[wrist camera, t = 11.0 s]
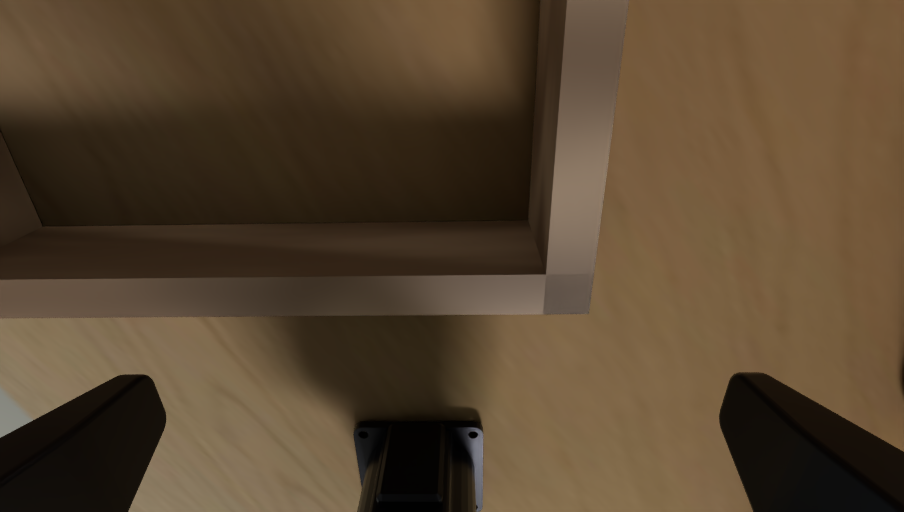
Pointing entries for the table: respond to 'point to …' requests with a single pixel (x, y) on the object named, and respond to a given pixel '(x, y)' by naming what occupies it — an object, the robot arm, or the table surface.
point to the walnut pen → (356, 228)
